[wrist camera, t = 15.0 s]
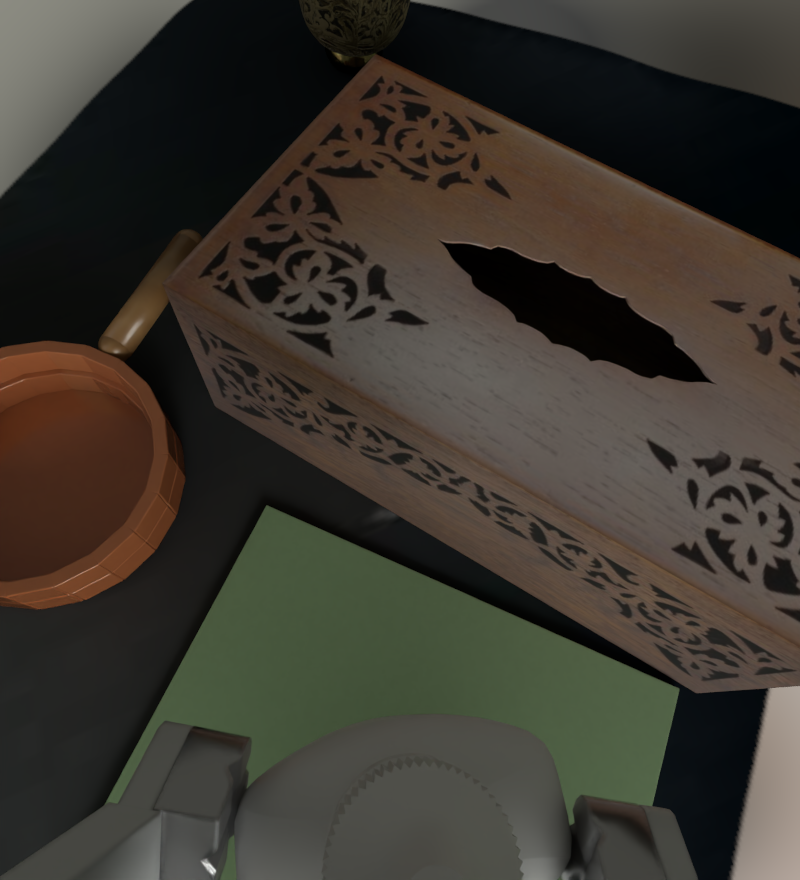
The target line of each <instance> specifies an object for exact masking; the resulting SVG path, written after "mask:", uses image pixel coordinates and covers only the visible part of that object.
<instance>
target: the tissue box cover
mask: <svg viewBox="0 0 800 880" xmlns="http://www.w3.org/2000/svg"><path fill="white" fill-rule="evenodd" d="M162 284H163V287H164V289H165V291H166V294H167V296H168V298H169V301H170V303H171V305H172V308H173V310H174V312H175V314H176V317H177V319H178V321H179V324H180V326H181V328H182V331H183V333H184V335H185V338H186V340H187V342H188V345H189V347H190V349H191V352H192V354H193V356H194V359H195V361H196V363H197V366H198V368H199V370H200V373H201V375H202V377H203V380H204V382H205V384H206V387H207V389H208V391H209V394H210V396H211V398H212V400H213V403H214V405H215V407H217V408H219V409H220V410H222V411H224V412H225V413H227V414H229V415H230V416H232V417H234V418H235V419H237V420H239V421H240V422H242V423H244V424H246V425H247V426H249V427H251V428H252V429H254V430H256V431H257V432H259V433H261V434H262V435H264V436H266V437H267V438H269V439H271V440H272V441H274V442H276V443H277V444H279V445H281V446H282V447H284V448H286V449H287V450H289V451H291V452H293V453H294V454H296V455H298V456H299V457H301V458H303V459H304V460H306V461H308V462H309V463H311V464H313V465H314V466H316V467H318V468H319V469H321V470H323V471H324V472H326V473H328V474H329V475H331V476H333V477H334V478H336V479H338V480H340V481H341V482H343V483H345V484H346V485H348V486H350V487H351V488H353V489H355V490H356V491H358V492H360V493H361V494H363V495H365V496H366V497H368V498H370V499H371V500H373V501H375V502H376V503H378V504H380V505H381V506H383V507H385V508H387V509H388V510H390V511H392V512H393V513H395V514H397V515H398V516H400V517H402V518H403V519H405V520H407V521H408V522H410V523H412V524H413V525H415V526H417V527H418V528H420V529H422V530H423V531H425V532H427V533H428V534H430V535H432V536H434V537H435V538H437V539H439V540H440V541H442V542H444V543H445V544H447V545H449V546H450V547H452V548H454V549H455V550H457V551H459V552H460V553H462V554H464V555H465V556H467V557H469V558H470V559H472V560H474V561H476V562H477V563H479V564H481V565H482V566H484V567H486V568H487V569H489V570H491V571H492V572H494V573H496V574H497V575H499V576H501V577H502V578H504V579H506V580H507V581H509V582H511V583H512V584H514V585H516V586H517V587H519V588H521V589H523V590H524V591H526V592H528V593H529V594H531V595H533V596H534V597H536V598H538V599H539V600H541V601H543V602H544V603H546V604H548V605H549V606H551V607H553V608H554V609H556V610H558V611H559V612H561V613H563V614H564V615H566V616H568V617H570V618H571V619H573V620H575V621H576V622H578V623H580V624H581V625H583V626H585V627H586V628H588V629H590V630H591V631H593V632H595V633H596V634H598V635H600V636H601V637H603V638H605V639H606V640H608V641H610V642H611V643H613V644H615V645H617V646H618V647H620V648H622V649H623V650H625V651H627V652H628V653H630V654H632V655H633V656H635V657H637V658H638V659H640V660H642V661H643V662H645V663H647V664H648V665H650V666H652V667H653V668H655V669H657V670H658V671H660V672H662V673H664V674H665V675H667V676H669V677H670V678H672V679H674V680H675V681H677V682H679V683H680V684H682V685H684V686H685V687H687V688H689V689H690V690H692V691H694V692H695V693H705V692H719V691H733V690H747V689H762V688H776V687H790V686H800V258H798V257H796V256H793V255H791V254H789V253H787V252H785V251H783V250H781V249H779V248H777V247H775V246H773V245H771V244H769V243H766V242H764V241H762V240H760V239H758V238H756V237H754V236H752V235H750V234H748V233H746V232H744V231H742V230H739V229H737V228H735V227H733V226H731V225H729V224H727V223H725V222H723V221H721V220H719V219H717V218H715V217H713V216H710V215H708V214H706V213H704V212H702V211H700V210H698V209H696V208H694V207H692V206H690V205H688V204H686V203H683V202H681V201H679V200H677V199H675V198H673V197H671V196H669V195H667V194H665V193H663V192H661V191H659V190H657V189H654V188H652V187H650V186H648V185H646V184H644V183H642V182H640V181H638V180H636V179H634V178H632V177H630V176H627V175H625V174H623V173H621V172H619V171H617V170H615V169H613V168H611V167H609V166H607V165H605V164H603V163H600V162H598V161H596V160H594V159H592V158H590V157H588V156H586V155H584V154H582V153H580V152H578V151H576V150H574V149H571V148H569V147H567V146H565V145H563V144H561V143H559V142H557V141H555V140H553V139H551V138H549V137H547V136H544V135H542V134H540V133H538V132H536V131H534V130H532V129H530V128H528V127H526V126H524V125H522V124H520V123H517V122H515V121H513V120H511V119H509V118H507V117H505V116H503V115H501V114H499V113H497V112H495V111H493V110H491V109H488V108H486V107H484V106H482V105H480V104H478V103H476V102H474V101H472V100H470V99H468V98H466V97H464V96H461V95H459V94H457V93H455V92H453V91H451V90H449V89H447V88H445V87H443V86H441V85H439V84H437V83H434V82H432V81H430V80H428V79H426V78H424V77H422V76H420V75H418V74H416V73H414V72H412V71H410V70H408V69H405V68H403V67H401V66H399V65H397V64H395V63H393V62H391V61H389V60H387V59H385V58H383V57H381V56H378V55H376V54H375V55H374V56H373V57H372V58H371V59H370V61H369V62H368V63H367V64H366V65H365V66H364V67H363V68H362V69H361V70H360V71H359V72H358V73H357V75H356V76H355V77H354V78H353V79H352V80H351V81H350V82H349V83H348V84H347V85H346V86H345V87H344V88H343V90H342V91H341V92H340V93H339V94H338V95H337V96H336V97H335V98H334V99H333V100H332V101H331V102H330V103H329V105H328V106H327V107H326V108H325V109H324V110H323V111H322V112H321V113H320V114H319V115H318V116H317V117H316V119H315V120H314V121H313V122H312V123H311V124H310V125H309V126H308V127H307V128H306V129H305V130H304V131H303V132H302V134H301V135H300V136H299V137H298V138H297V139H296V140H295V141H294V142H293V143H292V144H291V145H290V146H289V147H288V149H287V150H286V151H285V152H284V153H283V154H282V155H281V156H280V157H279V158H278V159H277V160H276V161H275V163H274V164H273V165H272V166H271V167H270V168H269V169H268V170H267V171H266V172H265V173H264V174H263V175H262V176H261V178H260V179H259V180H258V181H257V182H256V183H255V184H254V185H253V186H252V187H251V188H250V189H249V190H248V192H247V193H246V194H245V195H244V196H243V197H242V198H241V199H240V200H239V201H238V202H237V203H236V204H235V205H234V207H233V208H232V209H231V210H230V211H229V212H228V213H227V214H226V215H225V216H224V217H223V218H222V219H221V220H220V222H219V223H218V224H217V225H216V226H215V227H214V228H213V229H212V230H211V231H210V232H209V233H208V234H207V236H206V237H205V238H204V239H203V240H202V241H201V242H200V243H199V244H198V245H197V246H196V247H195V248H194V249H193V251H192V252H191V253H190V254H189V255H188V256H187V257H186V258H185V259H184V260H183V261H182V262H181V263H180V264H179V266H178V267H177V268H176V269H175V270H174V271H173V272H172V273H171V274H170V275H169V276H168V277H167V278H166V280H165V281H164V282H163V283H162Z"/></svg>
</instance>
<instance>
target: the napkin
mask: <svg viewBox="0 0 800 880" xmlns="http://www.w3.org/2000/svg"><path fill="white" fill-rule="evenodd" d="M678 693H679V688H677V687H675V686H672V685H670V684H668V683H666V682H663V681H661V680H659V679H657V678H654V677H652V676H650V675H648V674H645V673H643V672H641V671H639V670H636V669H634V668H632V667H630V666H627V665H625V664H623V663H621V662H618V661H616V660H614V659H612V658H609V657H607V656H605V655H603V654H600V653H598V652H596V651H594V650H591V649H589V648H587V647H585V646H582V645H580V644H578V643H576V642H573V641H571V640H569V639H567V638H564V637H562V636H560V635H558V634H555V633H553V632H551V631H549V630H546V629H544V628H542V627H540V626H537V625H535V624H533V623H531V622H528V621H526V620H524V619H522V618H519V617H517V616H515V615H513V614H510V613H508V612H506V611H504V610H501V609H499V608H497V607H495V606H492V605H490V604H488V603H486V602H483V601H481V600H479V599H477V598H474V597H472V596H470V595H468V594H465V593H463V592H461V591H459V590H456V589H454V588H452V587H450V586H447V585H445V584H443V583H441V582H438V581H436V580H434V579H432V578H429V577H427V576H425V575H423V574H420V573H418V572H416V571H414V570H411V569H409V568H407V567H405V566H402V565H400V564H398V563H396V562H393V561H391V560H389V559H387V558H384V557H382V556H380V555H378V554H375V553H373V552H371V551H369V550H366V549H364V548H362V547H360V546H357V545H355V544H353V543H351V542H348V541H346V540H344V539H342V538H339V537H337V536H335V535H333V534H330V533H328V532H326V531H324V530H321V529H319V528H317V527H315V526H312V525H310V524H308V523H306V522H304V521H301V520H299V519H297V518H295V517H292V516H290V515H288V514H286V513H283V512H281V511H279V510H277V509H274V508H272V507H270V506H268V505H266V507H265V509H264V511H263V512H262V514H261V516H260V518H259V520H258V522H257V524H256V525H255V527H254V529H253V531H252V533H251V535H250V536H249V538H248V540H247V542H246V544H245V546H244V548H243V549H242V551H241V553H240V555H239V557H238V559H237V561H236V562H235V564H234V566H233V568H232V570H231V572H230V573H229V575H228V577H227V579H226V581H225V583H224V585H223V586H222V588H221V590H220V592H219V594H218V596H217V597H216V599H215V601H214V603H213V605H212V607H211V609H210V610H209V612H208V614H207V616H206V618H205V620H204V622H203V623H202V625H201V627H200V629H199V631H198V633H197V634H196V636H195V638H194V640H193V642H192V644H191V646H190V647H189V649H188V651H187V653H186V655H185V657H184V659H183V660H182V662H181V664H180V666H179V668H178V670H177V671H176V673H175V675H174V677H173V679H172V681H171V683H170V684H169V686H168V688H167V690H166V692H165V694H164V696H163V697H162V699H161V701H160V703H159V705H158V707H157V708H156V710H155V712H154V714H153V716H152V718H151V720H150V721H149V723H148V725H147V727H146V729H145V731H144V733H143V734H142V736H141V738H140V740H139V742H138V744H137V745H136V747H135V749H134V751H133V753H132V755H131V757H130V758H129V760H128V762H127V764H126V766H125V768H124V770H123V771H122V773H121V775H120V777H119V779H118V781H117V782H116V784H115V786H114V788H113V790H112V792H111V794H110V795H109V797H108V799H107V801H106V803H105V805H106V804H107V803H108V802H109V803H116V804H118V802H119V800H120V798H121V796H122V794H123V793H124V791H125V789H126V787H127V785H128V783H129V781H130V779H131V778H132V776H133V774H134V772H135V770H136V768H137V766H138V764H139V763H140V761H141V759H142V757H143V755H144V753H145V751H146V749H147V748H148V746H149V744H150V742H151V740H152V738H153V736H154V734H155V733H156V731H157V729H158V727H159V726H160V725H161V724H162V723H163V722H164V721H165V720H166V721H171V722H176V723H181V724H186V725H191V726H198V727H203V728H208V729H213V730H218V731H222V732H227V733H232V734H237V735H242V736H247V737H251V738H252V745H251V755H250V758H249V761H248V764H247V767H246V769H247V770H248V772H249V778H248V786H247V788H248V787H249V786H250V784H251V783H252V782H254V781H255V780H256V779H257V778H258V777H260V776H261V775H262V774H263V773H265V772H266V771H267V770H268V769H270V768H271V767H272V766H274V765H275V764H277V763H278V762H280V761H281V760H283V759H284V758H286V757H287V756H289V755H291V754H292V753H294V752H296V751H297V750H299V749H301V748H302V747H304V746H306V745H308V744H309V743H311V742H313V741H315V740H316V739H318V738H320V737H322V736H324V735H326V734H328V733H331V732H333V731H335V730H338V729H340V728H343V727H346V726H349V725H351V724H354V723H358V722H362V721H365V720H370V719H374V718H380V717H387V716H396V715H414V714H448V715H462V716H471V717H478V718H483V719H489V720H494V721H498V722H502V723H506V724H510V725H513V726H516V727H518V728H521V729H524V730H527V731H529V732H530V733H532V734H533V735H534V736H536V737H537V738H538V739H540V740H541V741H542V742H544V743H545V744H546V746H547V748H548V750H549V752H550V753H551V755H552V757H553V759H554V762H555V766H556V769H557V773H558V776H559V780H560V784H561V788H562V792H563V796H564V801H565V805H566V810H567V814H568V819H569V825H572V824H573V823H575V822H574V816H573V811H572V809H573V806H574V804H575V801H576V799H577V798H578V797H579V796H580V795H581V794H582V795H588V796H594V797H600V798H606V799H612V800H619V801H625V802H631V803H636V804H638V805H640V804H641V805H647V806H652V803H653V799H654V795H655V791H656V786H657V782H658V778H659V774H660V769H661V765H662V761H663V757H664V752H665V748H666V744H667V740H668V736H669V731H670V727H671V723H672V719H673V714H674V710H675V706H676V702H677V697H678ZM220 880H237V876H236V861H235V838H234V835H233V836H232V837H231V838H229V842H228V852H227V861H226V864H225V867H224V870H223V873H222V876H221V879H220ZM557 880H560V877H559V878H558V879H557Z"/></svg>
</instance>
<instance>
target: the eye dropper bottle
mask: <svg viewBox="0 0 800 880" xmlns="http://www.w3.org/2000/svg"><path fill="white" fill-rule="evenodd" d="M234 838H235V861H236V876H237V880H557V879H558V878H559V877H560V876H561V875H562V874H563V872H564V870H565V868H566V866H567V864H568V862H569V860H570V858H571V844H572V836H571V831H570V825H569V819H568V814H567V810H566V805H565V801H564V796H563V792H562V788H561V784H560V780H559V776H558V773H557V769H556V766H555V762H554V759H553V757H552V755H551V753H550V752H549V750H548V748H547V746H546V744H545V743H544V742H542V741H541V740H540V739H538V738H537V737H536V736H534V735H533V734H532V733H530V732H529V731H527V730H524V729H521V728H518V727H516V726H513V725H510V724H506V723H502V722H498V721H494V720H489V719H483V718H478V717H471V716H462V715H448V714H414V715H396V716H387V717H380V718H374V719H370V720H365V721H362V722H358V723H354V724H351V725H349V726H346V727H343V728H340V729H338V730H335V731H333V732H331V733H328V734H326V735H324V736H322V737H320V738H318V739H316V740H315V741H313V742H311V743H309V744H308V745H306V746H304V747H302V748H301V749H299V750H297V751H296V752H294V753H292V754H291V755H289V756H287V757H286V758H284V759H283V760H281V761H280V762H278V763H277V764H275V765H274V766H272V767H271V768H270V769H268V770H267V771H266V772H265V773H263V774H262V775H261V776H260V777H258V778H257V779H256V780H255V781H254V782H252V783H251V784H250V786H249V787H248V788H247V790H246V791H245V793H244V795H243V797H242V799H241V801H240V804H239V808H238V812H237V815H236V818H235V821H234Z"/></svg>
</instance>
